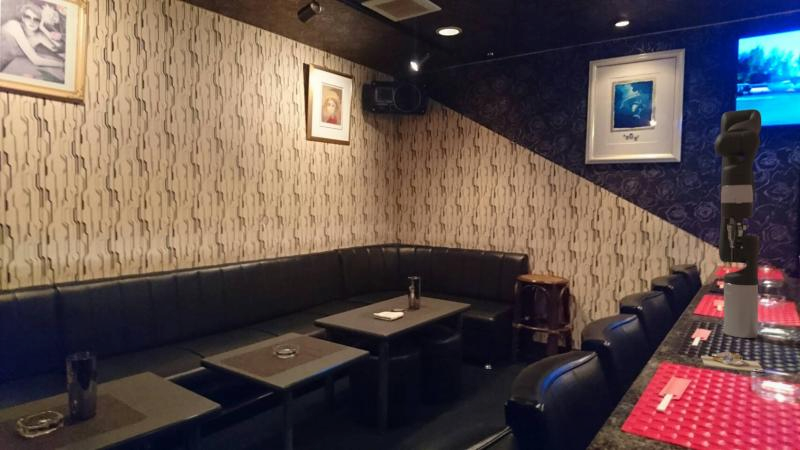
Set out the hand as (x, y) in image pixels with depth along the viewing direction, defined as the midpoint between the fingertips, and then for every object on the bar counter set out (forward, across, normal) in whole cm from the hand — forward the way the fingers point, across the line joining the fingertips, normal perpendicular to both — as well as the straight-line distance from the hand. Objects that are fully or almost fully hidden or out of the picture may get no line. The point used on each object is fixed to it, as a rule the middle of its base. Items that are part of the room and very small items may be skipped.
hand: (736, 261), depth 140 cm
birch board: (+27, +12, -3) cm, 30 cm away
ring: (+26, +6, -3) cm, 27 cm away
